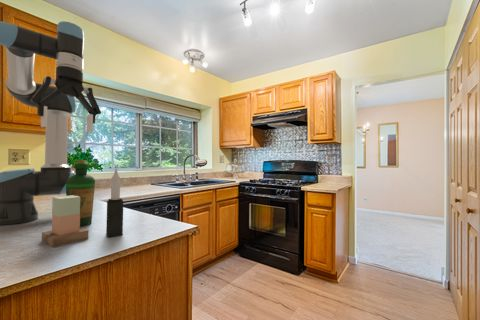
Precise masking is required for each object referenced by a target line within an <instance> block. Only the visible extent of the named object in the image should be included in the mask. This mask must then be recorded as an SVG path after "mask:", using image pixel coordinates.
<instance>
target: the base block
mask: <svg viewBox="0 0 480 320" xmlns="http://www.w3.org/2000/svg"><path fill="white" fill-rule="evenodd" d="M89 232H90V231H89V229H86V228H84V227H82V226H80V231H76V232H72V233H67V234H63V235H57V234H55V233H53V232H52V229H51V230H47V231H42V232H41V242H42V241H43V242H42V243H44V244H46V245H48V246H50V247H52V248H57V247H62V246H64V245H68V244H72V243H73V244H74V243H76V242H80V241H84V240H89Z"/></svg>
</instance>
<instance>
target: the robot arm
mask: <svg viewBox="0 0 480 320" xmlns="http://www.w3.org/2000/svg"><path fill="white" fill-rule="evenodd" d="M84 41H85V34H84V30H83V28H82V27H80V26H79V25H78V24H75V23H73V22H70V21H64V20H63V21H60V22H59V21H58V23H57V29H56V37H54V36H50V35H48V34H44V33H41V32H38V31H34V30H33V29H30V28H29V29H28V28H25V27H23V26H19V25H17V24H13V23H9V22H6V21H5V22H4V21H0V46H3V47H5V51H6V60H7V61H6V62H7V74H8V77H6V78H5V87H6V89H7V91H8V93H9V95H11V96H12V97H13V98H14V99H15V100H17V101H19V102H20V103H21V104H23V105H25V106H28V107H31V108H37V109H36V110H37V111H36V112H37V113H36V115H37V116H39V117H40V127H41V128H45V144H44V146H45V147H44V148H45V149H44V164H43V165H42V166H41V167H40V170H39V171H38V170H37V171H36V169H35V168H31V167H30V168H20V169H19V168H17V169H9V170H4V171H1V172H0V226H7V225H14V224H15V225H18V224H22V223H28V222H31V221H32V222H33V221H35V220H37V219H38V218H39V213H38V212H39V211H38V210H37V207H36V205H35V202H34V198H35V197H39V196H54V195H57V196H58V195H59V196H60V195H66V181H67V180H68V178H70V177H71V176H73V175H75V174H76V172H75V171H74V170H72V168H71V166H70V165H69V164H68V141H69V140H68V139H69V138H68V135H69V134H68V131H69V129H68V128H69V122H68V121H69V118H70V117H72V114H74V113H75V112H76V100H75V99H77V100H78V101H79V103H80V104H81V105H82V107H83V108H84V109H85V110H86V112H87V113H88V114H87V117H86V133H93V129H94V128H93V126H94V124H96V115H101V114H102V111H101V109H100V107H99V104H98V103H97V99H96V98H95V96H94V93H93V92H94V91H93V88H92V87H84V86H83V82H84V47H85V46H84V44H85V42H84ZM36 55H39V56H41V57H46V58H50V59H53V60H55V61H56V62H55V65H56V67H55V70H56V71H55V79H54V78H51V76H46V77H44V78H43V80H42V83H38V82H35V81H34V75H35V73H34V71H35V57H36ZM53 84H54V85H55V86H54V85H53ZM82 92H84V94H85V95H86V97H85V95H84V94H83V93H82ZM87 99H88V100H87Z"/></svg>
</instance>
